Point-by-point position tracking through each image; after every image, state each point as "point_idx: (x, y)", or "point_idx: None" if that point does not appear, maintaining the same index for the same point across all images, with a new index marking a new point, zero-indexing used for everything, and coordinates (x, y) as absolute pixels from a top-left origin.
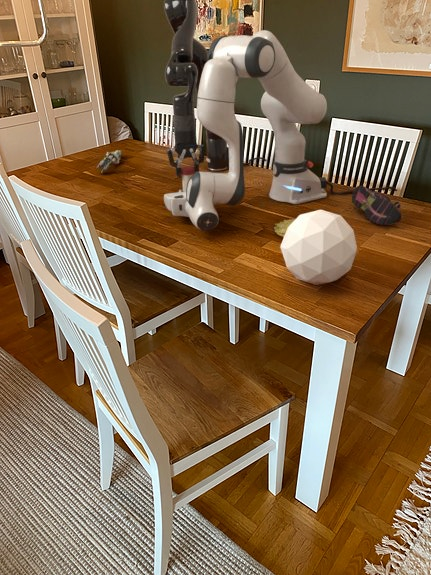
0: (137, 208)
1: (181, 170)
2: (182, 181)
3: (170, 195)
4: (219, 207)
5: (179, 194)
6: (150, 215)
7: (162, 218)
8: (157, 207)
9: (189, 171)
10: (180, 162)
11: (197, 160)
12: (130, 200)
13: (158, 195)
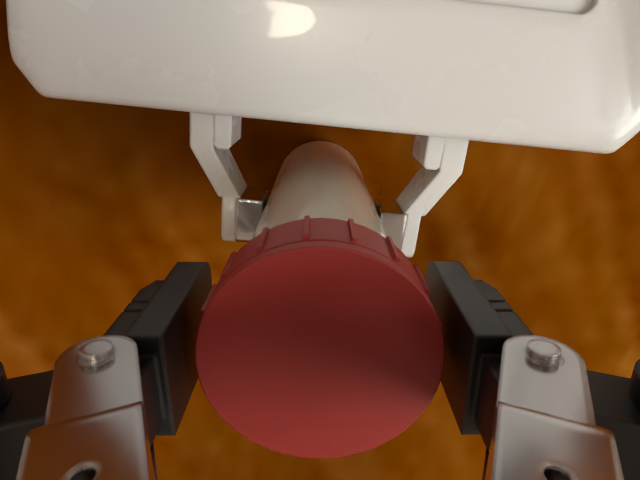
0: (635, 320)
1: (438, 327)
2: None
3: (601, 63)
4: (104, 105)
5: (495, 53)
6: (618, 174)
7: None
8: (515, 286)
9: (322, 236)
10: (525, 407)
11: (60, 403)
12: None
13: (433, 453)
